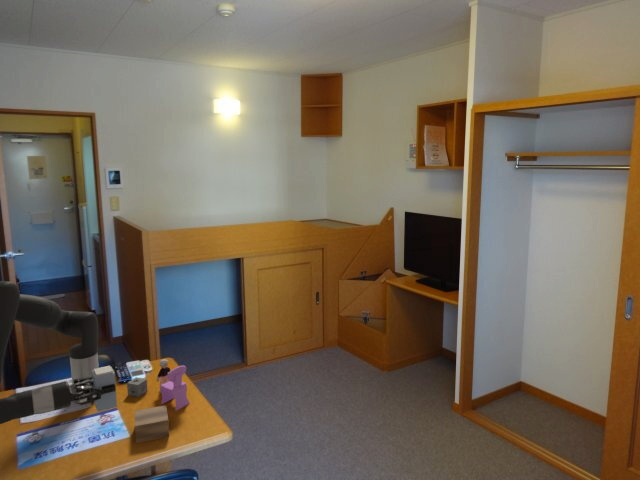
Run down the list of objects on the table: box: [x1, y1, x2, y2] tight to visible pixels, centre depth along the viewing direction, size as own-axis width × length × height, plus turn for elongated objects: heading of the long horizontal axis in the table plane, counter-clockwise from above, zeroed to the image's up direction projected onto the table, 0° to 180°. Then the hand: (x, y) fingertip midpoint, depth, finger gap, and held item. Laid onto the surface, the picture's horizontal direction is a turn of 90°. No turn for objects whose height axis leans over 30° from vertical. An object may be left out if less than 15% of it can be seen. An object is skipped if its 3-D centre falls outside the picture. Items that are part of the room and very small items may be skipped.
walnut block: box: [134, 405, 170, 444], centre depth 157 cm, size 10×10×6 cm
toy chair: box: [159, 365, 190, 411], centre depth 174 cm, size 8×9×15 cm
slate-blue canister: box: [92, 365, 118, 412], centre depth 147 cm, size 6×6×12 cm
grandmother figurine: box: [156, 358, 172, 395], centre depth 184 cm, size 8×4×13 cm, turn 168°
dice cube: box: [126, 376, 149, 398], centre depth 183 cm, size 5×5×5 cm
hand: (113, 383), depth 148 cm, fingers closed on slate-blue canister, 5 cm apart
